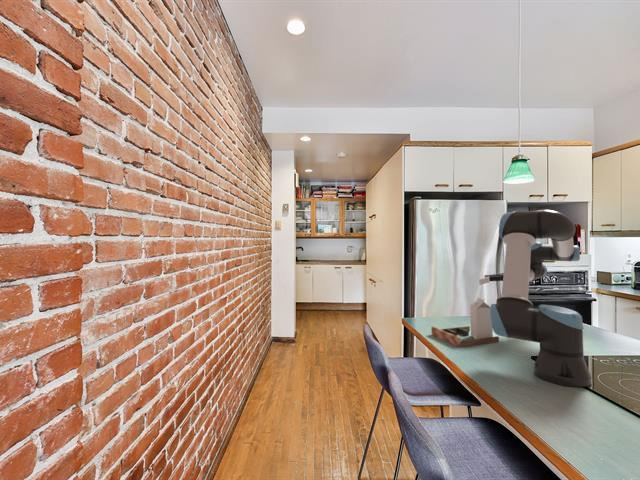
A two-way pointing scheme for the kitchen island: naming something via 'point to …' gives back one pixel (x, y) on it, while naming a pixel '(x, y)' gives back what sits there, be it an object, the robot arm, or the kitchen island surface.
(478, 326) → the milk carton
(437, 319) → the kitchen island surface
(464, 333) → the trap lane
